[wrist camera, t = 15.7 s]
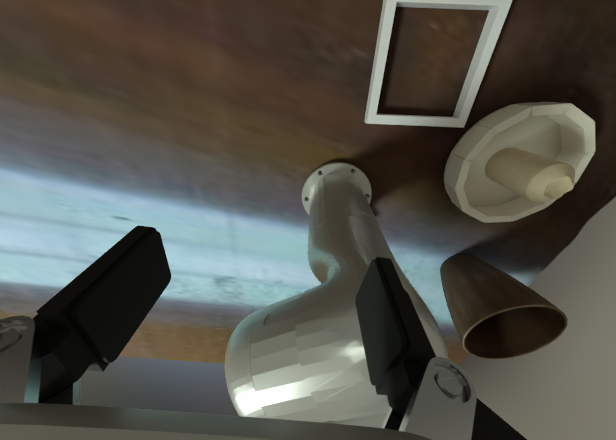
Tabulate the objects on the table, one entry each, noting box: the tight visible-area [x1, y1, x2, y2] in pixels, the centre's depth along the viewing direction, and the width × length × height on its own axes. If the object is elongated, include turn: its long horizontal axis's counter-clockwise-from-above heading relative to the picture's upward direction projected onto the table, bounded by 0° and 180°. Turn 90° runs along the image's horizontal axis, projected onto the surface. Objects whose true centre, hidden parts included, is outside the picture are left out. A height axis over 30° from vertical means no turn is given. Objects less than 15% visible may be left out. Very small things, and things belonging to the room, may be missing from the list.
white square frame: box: [364, 0, 512, 128], centre depth 29 cm, size 14×14×2 cm
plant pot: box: [440, 254, 567, 359], centre depth 42 cm, size 15×15×16 cm
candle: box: [485, 148, 575, 203], centre depth 32 cm, size 6×6×10 cm
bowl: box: [444, 102, 595, 223], centre depth 35 cm, size 18×18×4 cm
